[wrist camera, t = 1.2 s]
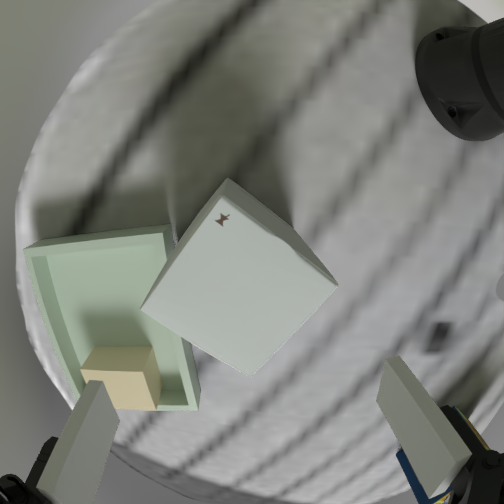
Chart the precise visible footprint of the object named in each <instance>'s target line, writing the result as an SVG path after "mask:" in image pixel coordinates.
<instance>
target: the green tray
mask: <svg viewBox="0 0 504 504" xmlns="http://www.w3.org/2000/svg"><path fill="white" fill-rule="evenodd" d="M173 250H174V241H173V233H172V226H171V224H166V225H156V226H147V227H138V228H129V229H120V230H112V231H104V232H96V233H88V234H80V235H72V236H65V237H58V238H50V239H43V240H40V241H38V242H36V243H34V244H32V245H30V246H28V247H26V248H24V249H23V251H24V255H25V259H26V263H27V267H28V271H29V275H30V279H31V283H32V286H33V290H34V293H35V296H36V300H37V303H38V306H39V309H40V312H41V315H42V318H43V321H44V324H45V327H46V330H47V332H48V335H49V338H50V340H51V343H52V346H53V348H54V351H55V353H56V355H57V358H58V360H59V363H60V365H61V367H62V370H63V372H64V374H65V376H66V379H67V381H68V383H69V385H70V387H71V389H72V391H73V393H74V395H75V397H76V399H77V401H78V400H79V398H80V396H81V394H82V392H83V390H84V388H85V387H86V385H87V384H86V382H85V380H84V378H83V375H82V373H81V371H80V368H81V367H82V365H83V364H84V362H85V361H86V359H87V357H88V356H89V354H90V353H91V351H92V350H93V348H94V347H95V346H104V347H150V346H153V350H154V353H155V357H156V361H157V364H158V368H159V371H160V374H161V378H162V381H163V388H162V391H161V395H160V399H159V402H158V406H157V410H156V411H198V410H199V401H200V393H201V389H200V384H199V380H198V375H197V371H196V366H195V361H194V357H193V352H192V347H191V343H190V342H189V341H187V340H186V339H184V338H182V337H181V336H179V335H178V334H176V333H175V332H173V331H171V330H170V329H168V328H167V327H165V326H164V325H162V324H161V323H159V322H158V321H156V320H155V319H153V318H152V317H150V316H149V315H147V314H146V313H144V312H143V311H141V310H140V307H141V305H142V303H143V302H144V300H145V298H146V296H147V294H148V293H149V291H150V289H151V287H152V286H153V284H154V282H155V280H156V279H157V277H158V275H159V273H160V272H161V270H162V268H163V267H164V265H165V263H166V261H167V260H168V258H169V256H170V255H171V253H172V251H173Z"/></svg>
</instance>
